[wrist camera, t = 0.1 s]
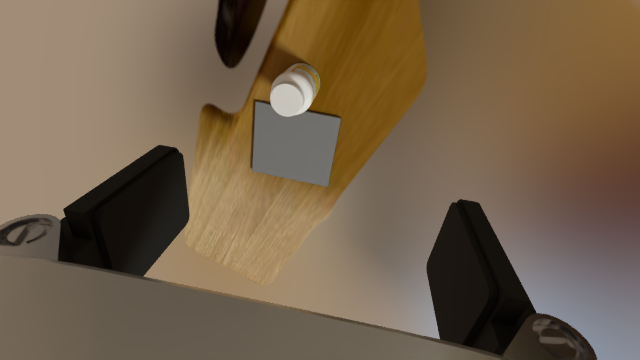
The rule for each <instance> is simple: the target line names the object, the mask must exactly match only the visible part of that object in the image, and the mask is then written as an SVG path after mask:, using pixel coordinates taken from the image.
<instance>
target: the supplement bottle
mask: <svg viewBox="0 0 640 360" xmlns="http://www.w3.org/2000/svg"><path fill="white" fill-rule="evenodd" d="M319 88H320V79H319V76H318V74H317V72H316V71H315V69H314V68H312V67H311V66H310V65H307V64H304V63H297V64H294V65H292V66H290V67H289V68H288V69H287V70H285V71H284V72H283V73H282V74H280V75H279V76H278V77H277V78H276V79H275V80H274V82H273V84H272V87H271V94H270V103H271V106H272V108H273V109H274V110H275V111H276V112H277V113H278V114H280V115H282V116H285V117H290V116H294V115H299V114H301V113H303V112H305V111H306V110H307V109H308V108H309V107H310V105H311V103H312V102H313V100H314V98H315V97H316V95H317V93H318V91H319Z"/></svg>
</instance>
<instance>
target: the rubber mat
mask: <svg viewBox="0 0 640 360" xmlns="http://www.w3.org/2000/svg"><path fill="white" fill-rule="evenodd" d="M340 121H341V117H337V116H331V115H326V114H321V113H316V112H311V111H305V112H303V113H301V114H299V115H294V116H290V117H285V116H282V115H280V114H278V113H277V112H276V111H275V110H274V109H273V108H272V106H271V103H266V102H261V101H256V104H255V125H254V146H253V167H252V171H255V172H259V173H264V174H269V175H274V176H278V177H283V178H288V179H293V180H298V181H302V182H307V183H312V184H317V185H322V186H326V187H328V183H329V178H330V173H331V168H332V162H333V157H334V152H335V147H336V142H337V137H338V132H339V127H340Z"/></svg>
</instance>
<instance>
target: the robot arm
mask: <svg viewBox="0 0 640 360" xmlns="http://www.w3.org/2000/svg"><path fill="white" fill-rule="evenodd" d="M64 213H65V216H66V217H64V218H63V219H62V220H59V219H58V218H57V217H55V216H52V215H48V214H36V215H28V216H24V217H20V218H17V219H14V220H11V221H8V222H6V223H4V224H2V225H1V226H0V360H597V357H596V354H595V352H594V349H593V348H592V347H591V345H590V344H589V342H588V341H587V340H586V339H585V338H584V337H583V336H582V335H581V334H580V333H579V332H578V331H577V330H576V329H574V328H573V327H572V326H570V325H569V324H568V323H566V322H564V321H562V320H560V319H558V318H556V317H553V316H551V315H548V314H541V313H536V311H535V309H534V307H533V305H532V303H531V301H530V299H529V297H528V295H527V294H526V292H525V290H524V288H523V286H522V285H521V282H520V280H519V278H518V277H517V275H516V273H515V271H514V269H513V267H512V265H511V263H510V261H509V259H508V257H507V256H506V254H505V252H504V250H503V248H502V246H501V244H500V242H499V240H498V238H497V236H496V234H495V233H494V231H493V229H492V227H491V225H490V223H489V221H488V219H487V217H486V215H485V213H484V212H483V210H482V208H481V206H480V204H479V203H477V202H473V201H467V200H462V199H460V200H458V201H457V203H454V202H453V203H452V204H451V206H450V207H449V210H448V212H447V215H446V217H445V220H444V222H443V225H442V227H441V230H440V232H439V234H438V237H437V239H436V242H435V244H434V247H433V249H432V252H431V254H430V257H429V259H428V262H427V275H428V280H429V285H430V291H431V296H432V301H433V305H434V311H435V316H436V321H437V326H438V331H439V336H440V339H436V338H431V337H427V336H421V335H417V334H413V333H409V332H405V331H400V330H396V329H391V328H386V327H382V326H377V325H372V324H368V323H363V322H358V321H354V320H349V319H344V318H340V317H335V316H330V315H325V314H321V313H317V312H311V311H307V310H302V309H297V308H293V307H288V306H283V305H278V304H274V303H269V302H264V301H259V300H255V299H249V298H245V297H240V296H235V295H231V294H226V293H221V292H216V291H211V290H207V289H202V288H197V287H192V286H187V285H182V284H177V283H172V282H167V281H162V280H158V279H152V278H147V277H143V276H144V275H145V274H146V272H147V271H148V270H149V269H150V267H151V266H152V265H153V264H154V263H155V262H156V260H157V259H158V258H159V257H160V256H161V254H162V253H163V252H164V251H165V250H166V248H167V247H168V246H169V245H170V244H171V242H172V241H173V240H174V239H175V238H176V236H177V235H178V234H179V233H180V232H181V230H182V229H183V228H184V227H185V226H186V224H187V223H188V220H189V205H188V196H187V188H186V177H185V168H184V159H183V155H182V154H181V153H179V151H178V149H177V148H174V147H169V146H163V145H158V146H157V147H155V148H153V149H152V150H150V151H149V152H148V153H146V154H144V155H143V156H141V157H140V158H138V159H137V160H135V161H134V162H133V163H131V164H130V165H128V166H127V167H125V168H124V169H122V170H121V171H119V172H118V173H116V174H115V175H113V176H112V177H110V178H109V179H107V180H106V181H104V182H103V183H101V184H100V185H98V186H97V187H95V188H94V189H92V190H91V191H89V192H88V193H86V194H85V195H84V196H82V197H80V198H79V199H78V200H76V201H75V202H73V203H72V204H70V205H69V206H67V207H66V208H64Z"/></svg>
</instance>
